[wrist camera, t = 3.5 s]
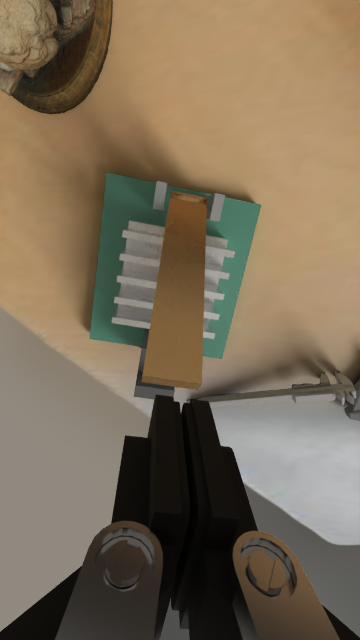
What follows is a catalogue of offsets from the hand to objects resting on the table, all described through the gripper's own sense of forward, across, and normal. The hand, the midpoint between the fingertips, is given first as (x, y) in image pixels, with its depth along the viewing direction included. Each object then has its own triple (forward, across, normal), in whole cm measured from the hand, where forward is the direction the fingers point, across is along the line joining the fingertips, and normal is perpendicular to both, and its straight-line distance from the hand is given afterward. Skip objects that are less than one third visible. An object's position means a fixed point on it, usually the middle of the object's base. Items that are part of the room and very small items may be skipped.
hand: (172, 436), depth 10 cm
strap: (+13, -1, -3) cm, 13 cm away
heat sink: (+26, -1, 0) cm, 26 cm away
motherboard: (+27, -1, 0) cm, 27 cm away
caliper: (+28, -16, +13) cm, 34 cm away
